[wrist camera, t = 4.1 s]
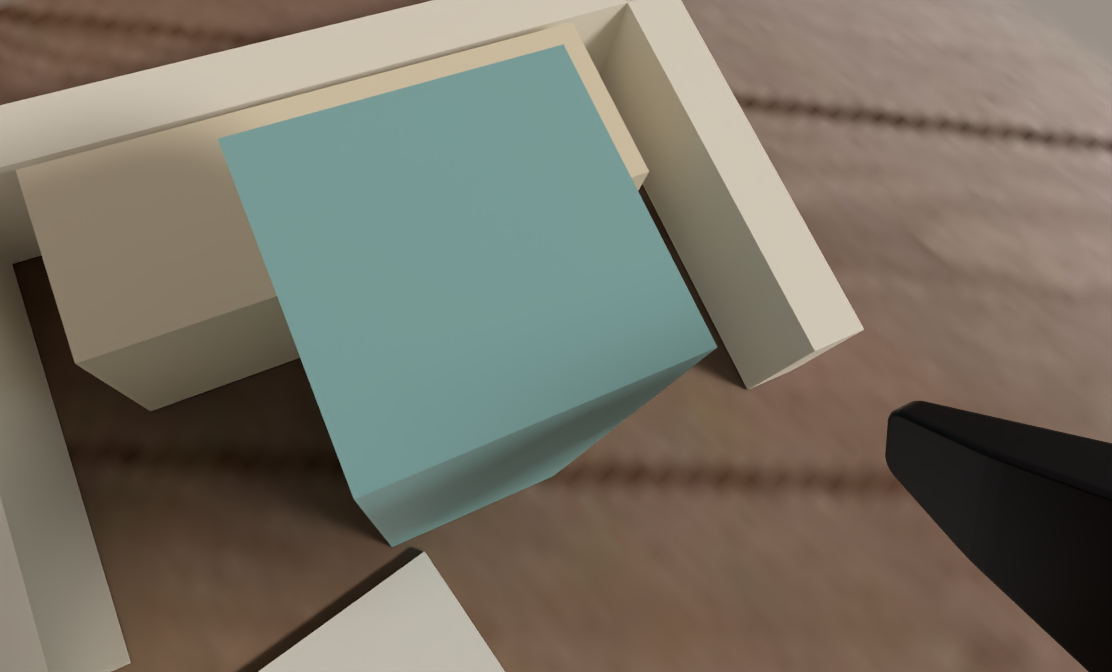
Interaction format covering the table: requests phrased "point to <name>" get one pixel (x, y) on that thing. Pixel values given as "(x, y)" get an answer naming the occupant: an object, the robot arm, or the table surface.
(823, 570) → the table surface
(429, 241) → the teal blank
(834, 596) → the table surface
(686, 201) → the cubby
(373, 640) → the felt mat
